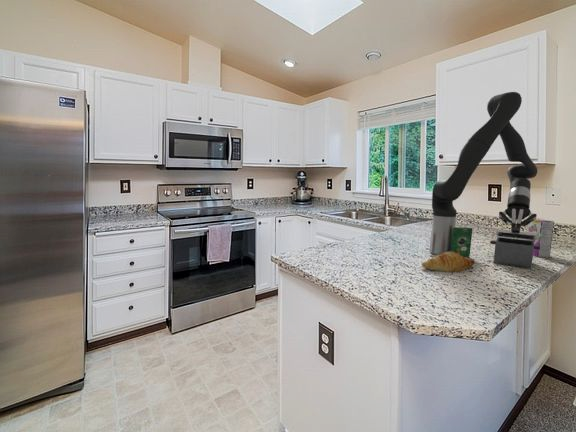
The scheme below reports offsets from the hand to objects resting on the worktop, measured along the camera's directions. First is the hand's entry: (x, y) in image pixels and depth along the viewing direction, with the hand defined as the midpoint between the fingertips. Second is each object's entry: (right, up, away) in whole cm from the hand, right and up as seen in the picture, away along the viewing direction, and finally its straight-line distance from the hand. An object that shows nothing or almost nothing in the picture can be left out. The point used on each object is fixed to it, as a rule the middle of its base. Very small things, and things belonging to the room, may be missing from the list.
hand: (515, 232), depth 120 cm
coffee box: (-16, -11, +11) cm, 22 cm away
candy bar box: (+22, -11, +17) cm, 30 cm away
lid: (-1, -1, -1) cm, 2 cm away
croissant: (-30, -14, -6) cm, 34 cm away
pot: (+1, -12, +3) cm, 13 cm away
